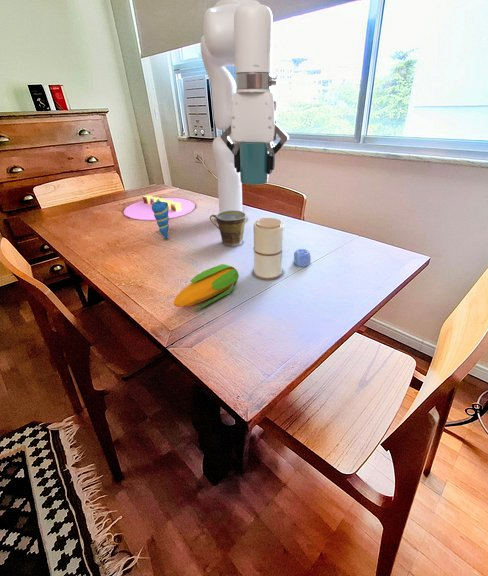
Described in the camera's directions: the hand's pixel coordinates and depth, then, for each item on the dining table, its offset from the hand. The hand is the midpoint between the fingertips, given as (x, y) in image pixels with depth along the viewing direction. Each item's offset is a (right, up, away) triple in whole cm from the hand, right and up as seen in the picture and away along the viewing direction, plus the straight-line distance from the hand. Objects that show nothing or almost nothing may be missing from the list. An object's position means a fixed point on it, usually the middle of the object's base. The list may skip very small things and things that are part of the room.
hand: (254, 171), depth 73 cm
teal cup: (0, -2, +1) cm, 2 cm away
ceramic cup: (-9, -12, +32) cm, 36 cm away
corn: (-11, -32, +3) cm, 34 cm away
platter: (-44, +8, +65) cm, 79 cm away
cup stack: (+4, -24, +14) cm, 28 cm away
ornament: (-32, -11, +35) cm, 49 cm away
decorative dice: (+14, -21, +19) cm, 32 cm away
